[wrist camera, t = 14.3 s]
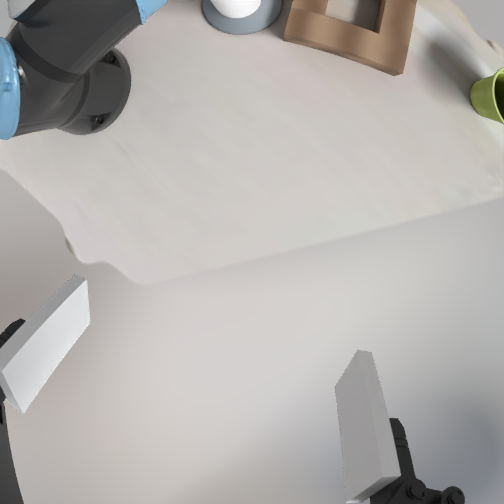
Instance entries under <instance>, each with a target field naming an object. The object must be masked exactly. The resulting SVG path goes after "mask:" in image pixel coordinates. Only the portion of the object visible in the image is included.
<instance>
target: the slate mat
mask: <svg viewBox="0 0 504 504" xmlns="http://www.w3.org/2000/svg"><path fill="white" fill-rule="evenodd" d="M281 7H282V0H261V3H260V6H259V8H258V9H257V10H256V11H255V12H254V13H252V14H251V15H249V16H246V17H243V18H229V17H226V16H224V15H222V14H221V13H220V12H219V11H218V10H217V9H216V7H215V6H214V5H213V3H212V2H211V0H203V11H204V14H205V17H206V18H207V20H208V21H209V22H210V23H211V24H212V25H213V26H214V27H215V28H217V29H218V30H220V31H223V32H225V33H229V34H234V35H246V34H252V33H255V32H258V31H261V30H263V29H265V28H266V27H268V26H269V25H270V24H272V23H273V22H274V21H275V19H276V18H277V17H278V15H279V13H280V11H281Z"/></svg>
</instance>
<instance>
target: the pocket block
mask: <svg viewBox="0 0 504 504" xmlns="http://www.w3.org/2000/svg"><path fill="white" fill-rule="evenodd" d="M416 2H417V0H381V1H380V6H379V11H378V15H377V20H376V25H375V29H374V32H373V31H370V30H367V29H365V28H362V27H359V26H356V25H353V24H350V23H347V22H344V21H341V20H338V19H335V18H331V17H328V16H324V15H325V11H326V7H327V3H328V0H293V2H292V6H291V10H290V13H289V17H288V21H287V24H286V28H285V32H284V41H287V42H292V43H296V44H300V45H304V46H307V47H311V48H315V49H318V50H322V51H325V52H328V53H332V54H335V55H338V56H341V57H344V58H347V59H350V60H353V61H356V62H359V63H362V64H364V65H367V66H370V67H372V68H375V69H378V70H380V71H383V72H385V73H388V74H390V75H392V76H396V75H399V74H402V73H403V70H404V66H405V61H406V56H407V52H408V47H409V42H410V37H411V31H412V26H413V20H414V15H415V8H416Z"/></svg>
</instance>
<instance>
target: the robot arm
mask: <svg viewBox="0 0 504 504" xmlns="http://www.w3.org/2000/svg"><path fill="white" fill-rule="evenodd" d="M167 1H168V0H8V11H9V17H10V18H12V19H14V20H16V21H18V23H17V24H16V25H15V27H14V28H13V29H12V31H11V32H10V33H9V35H8V36H7V37H6V38H3V37H0V139H3V140H8V139H10V138H11V137H15V136H19V135H23V134H28V133H32V132H37V131H42V130H48V129H53V128H58V129H60V130H63V131H66V132H68V133H71V134H75V135H86V134H92V133H96V132H99V131H101V130H103V129H105V128H106V127H108V126H109V125H111V124H112V123H113V122H114V121H115V120H116V119H117V117H118V116H119V115H120V113H121V112H122V110H123V108H124V106H125V104H126V102H127V99H128V96H129V93H130V87H131V73H130V68H129V65H128V62H127V60H126V59H125V57H124V56H123V54H122V53H121V52H120V51H118V50H117V49H115V48H114V47H115V46H116V45H117V44H118V43H119V42H120V41H121V40H122V39H123V38H125V37H126V36H127V35H128V34H129V33H130V32H132V31H133V30H134V29H135V28H136V27H138V26H139V25H140V24H141V25H143V24H144V23H145V22H146V19H148V18H149V17H150V16H151V15H152V14H154V13H155V12H156V11H157V10H158V9H160V8H161V7H162V6H163V5H165V3H166V2H167ZM89 324H90V313H89V303H88V290H87V279H85V278H83V277H80V276H77V275H73V276H72V278H70V279H69V280H68V281H67V282H66V283H65V284H64V285H63V286H61V287H60V288H59V290H57V291H56V292H55V293H54V294H53V295H52V296H51V297H50V298H49V299H48V300H47V301H46V302H45V303H44V304H43V305H42V306H41V307H40V308H39V309H38V310H37V311H36V312H35V313H34V314H33V315H32V316H31V317H30V318H29V319H28V320H27V321H25V320H23V319H19V320H17V321H15V322H13V323H11V324H10V325H9V326H8V327H7V328H6V329H5V331H4V332H2V334H0V504H24V503H23V500H22V496H21V493H20V489H19V485H18V481H17V477H16V473H15V468H14V464H13V460H12V454H11V449H10V444H9V437H8V431H7V423H6V415H5V406H4V403H3V401H4V400H5V398H7V400H8V401H9V403H10V405H11V406H12V407H14V408H15V409H17V410H19V411H20V412H22V413H24V412H25V411H26V409H27V408H28V406H29V405H30V403H31V402H32V401H33V399H34V398H35V396H36V395H37V393H38V392H39V390H40V389H41V387H42V386H43V385H44V383H45V382H46V381H47V379H48V378H49V376H50V375H51V374H52V372H53V371H54V370H55V368H56V367H57V365H58V364H59V363H60V361H61V360H62V359H63V357H64V356H65V355H66V353H67V352H68V351H69V349H70V348H71V347H72V345H73V344H74V343H75V342H76V340H77V339H78V338H79V336H80V335H81V333H83V331H84V330H85V329H86V328H87V326H88V325H89ZM335 393H336V400H337V410H338V419H339V427H340V438H341V449H342V459H343V460H342V461H343V473H344V488H345V503H354V502H355V503H356V502H363V501H365V500H366V499H368V498H370V504H464V503H465V499H464V498H465V497H464V495H463V492H462V491H461V490H460V489H459V488H457V487H454V486H451V487H448V488H446V489H445V490H443V491H438V490H433V489H428V488H426V486H425V484H424V483H423V482H422V481H421V480H418V479H416V477H415V473H414V469H413V464H412V459H411V455H410V451H409V448H408V442H407V440H406V434H405V430H404V427H403V426H402V424H401V423H400V421H399V420H398V418H389V416H388V412H387V408H386V404H385V400H384V397H383V392H382V388H381V385H380V381H379V377H378V374H377V370H376V367H375V363H374V360H373V356H372V352H367V351H361V350H357V352H356V353H355V355H354V357H353V359H352V360H351V362H350V363H349V365H348V367H347V368H346V370H345V372H344V373H343V375H342V376H341V378H340V380H339V381H338V383H337V384H336V386H335Z"/></svg>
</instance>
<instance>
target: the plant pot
mask: <svg viewBox="0 0 504 504" xmlns="http://www.w3.org/2000/svg"><path fill="white" fill-rule="evenodd" d="M470 98H471V102H472V105H473V107H474V109H475V110H476V111H477V112H478V113H479V114H480V115H481V116H483V117H486V118H489V119H492V120H495V121H498V122H500V123H503V124H504V68H501V69H499V70H498V71H497V72H496V73H495V74H494V75H493V76H490V77H487V78H485V79H481V80H479V81H476V82H475V83H474V84H473V86H472V88H471V90H470Z"/></svg>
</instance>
